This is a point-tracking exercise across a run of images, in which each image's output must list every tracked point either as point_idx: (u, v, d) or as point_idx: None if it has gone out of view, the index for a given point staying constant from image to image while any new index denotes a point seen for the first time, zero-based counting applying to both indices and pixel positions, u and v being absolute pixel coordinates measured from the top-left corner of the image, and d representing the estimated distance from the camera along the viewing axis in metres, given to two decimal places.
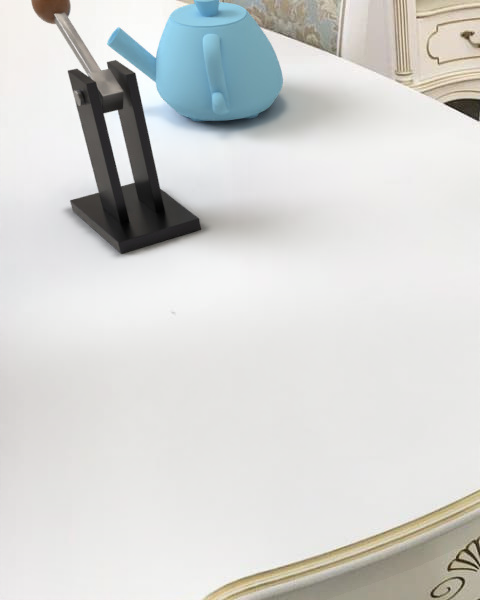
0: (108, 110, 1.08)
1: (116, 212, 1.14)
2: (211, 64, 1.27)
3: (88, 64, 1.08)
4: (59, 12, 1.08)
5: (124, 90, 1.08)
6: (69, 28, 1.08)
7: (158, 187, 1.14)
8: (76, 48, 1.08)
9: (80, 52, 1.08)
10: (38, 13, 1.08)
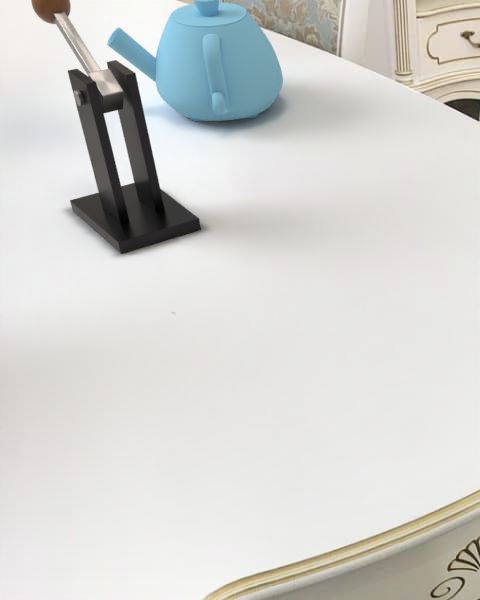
0: (108, 110, 1.08)
1: (116, 212, 1.14)
2: (211, 64, 1.27)
3: (88, 64, 1.08)
4: (59, 12, 1.08)
5: (124, 90, 1.08)
6: (69, 28, 1.08)
7: (158, 187, 1.14)
8: (76, 48, 1.08)
9: (80, 52, 1.08)
10: (38, 13, 1.08)
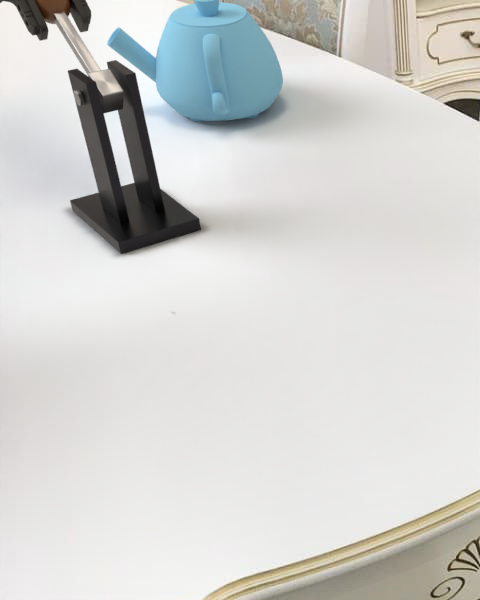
0: (108, 110, 1.08)
1: (116, 212, 1.14)
2: (211, 64, 1.27)
3: (88, 64, 1.08)
4: (59, 12, 1.08)
5: (124, 90, 1.08)
6: (69, 28, 1.08)
7: (158, 187, 1.14)
8: (76, 48, 1.08)
9: (80, 52, 1.08)
10: None
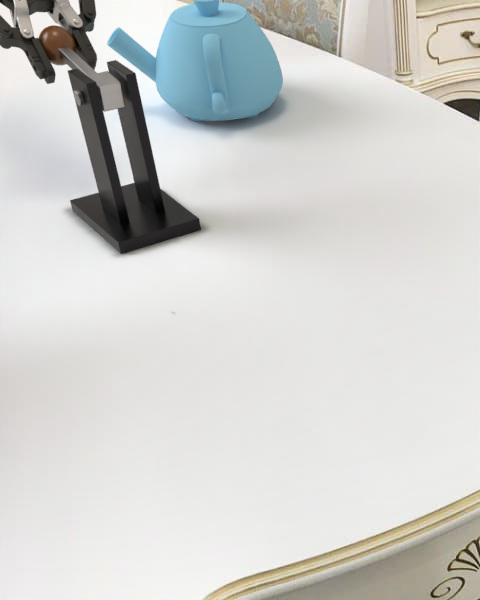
0: (109, 107, 1.08)
1: (116, 212, 1.14)
2: (211, 64, 1.27)
3: (88, 74, 1.09)
4: (63, 47, 1.12)
5: (124, 90, 1.08)
6: (72, 55, 1.11)
7: (158, 187, 1.14)
8: (77, 66, 1.09)
9: (81, 68, 1.09)
10: None
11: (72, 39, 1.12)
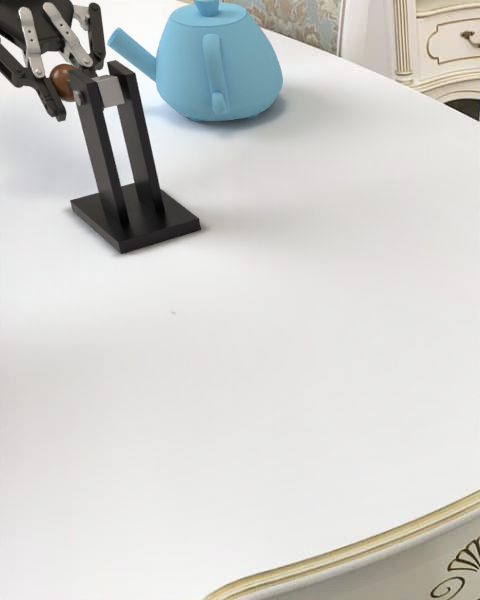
0: (109, 103, 1.07)
1: (116, 212, 1.14)
2: (211, 64, 1.27)
3: None
4: None
5: (124, 90, 1.08)
6: None
7: (158, 187, 1.14)
8: None
9: None
10: (55, 88, 1.14)
11: None
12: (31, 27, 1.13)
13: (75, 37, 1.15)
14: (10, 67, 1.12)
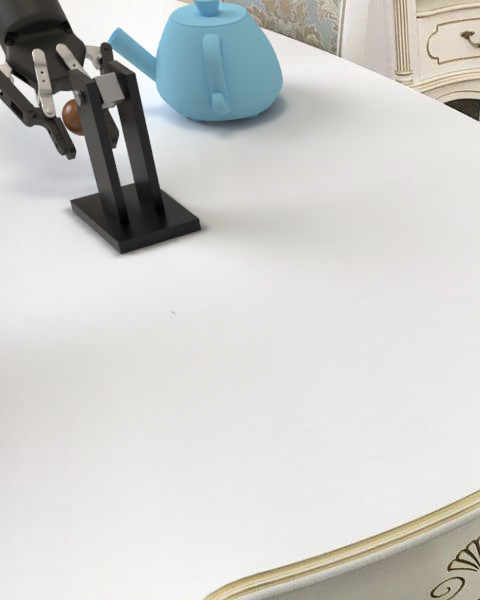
0: (108, 98, 1.07)
1: (116, 212, 1.14)
2: (211, 64, 1.27)
3: None
4: None
5: (124, 90, 1.08)
6: None
7: (158, 187, 1.14)
8: None
9: None
10: (67, 121, 1.16)
11: None
12: (44, 68, 1.15)
13: None
14: (21, 107, 1.14)
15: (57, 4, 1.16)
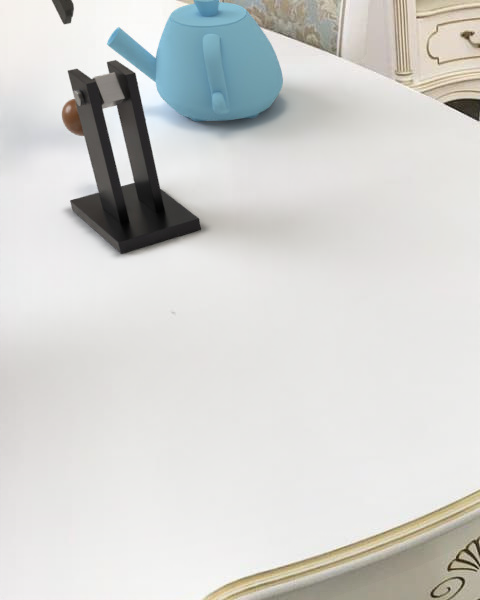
0: (108, 98, 1.07)
1: (116, 212, 1.14)
2: (211, 64, 1.27)
3: None
4: None
5: (124, 90, 1.08)
6: None
7: (158, 187, 1.14)
8: None
9: None
10: (67, 121, 1.16)
11: None
12: None
13: None
14: None
15: None
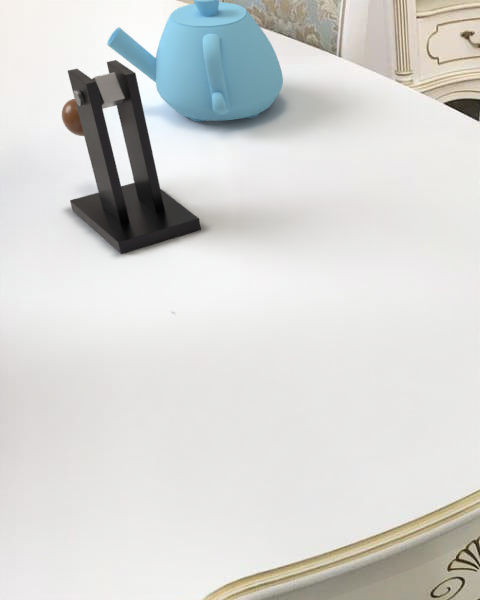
0: (108, 98, 1.07)
1: (116, 212, 1.14)
2: (211, 64, 1.27)
3: None
4: None
5: (124, 90, 1.08)
6: None
7: (158, 187, 1.14)
8: None
9: None
10: (67, 121, 1.16)
11: None
12: None
13: None
14: None
15: None
